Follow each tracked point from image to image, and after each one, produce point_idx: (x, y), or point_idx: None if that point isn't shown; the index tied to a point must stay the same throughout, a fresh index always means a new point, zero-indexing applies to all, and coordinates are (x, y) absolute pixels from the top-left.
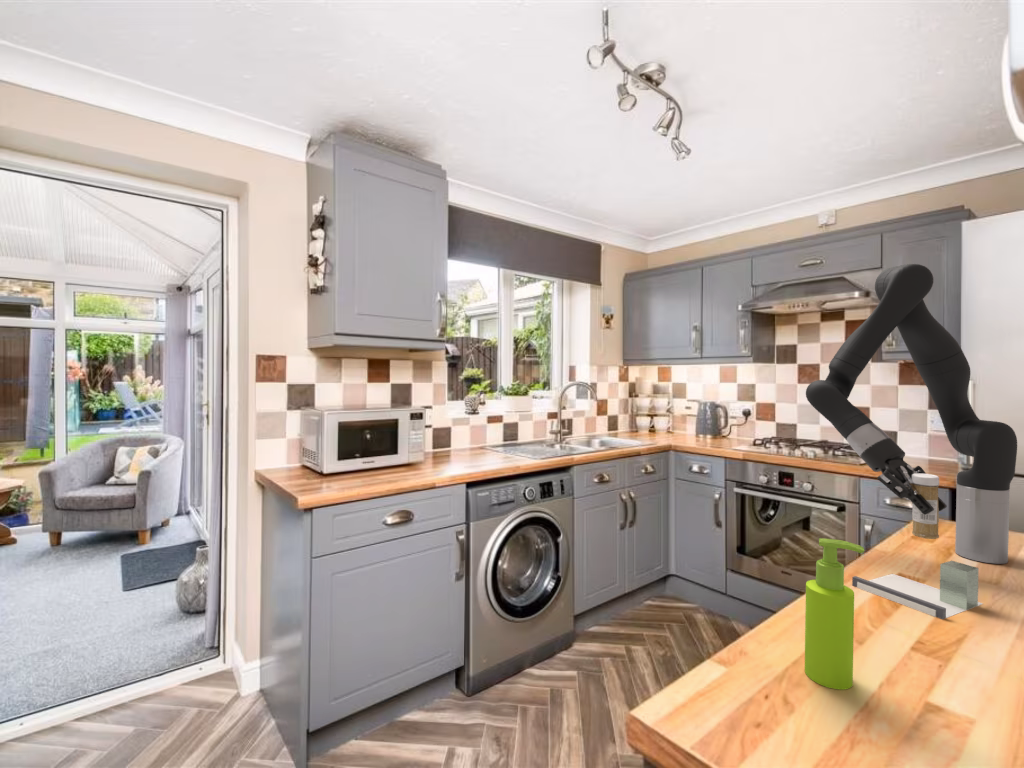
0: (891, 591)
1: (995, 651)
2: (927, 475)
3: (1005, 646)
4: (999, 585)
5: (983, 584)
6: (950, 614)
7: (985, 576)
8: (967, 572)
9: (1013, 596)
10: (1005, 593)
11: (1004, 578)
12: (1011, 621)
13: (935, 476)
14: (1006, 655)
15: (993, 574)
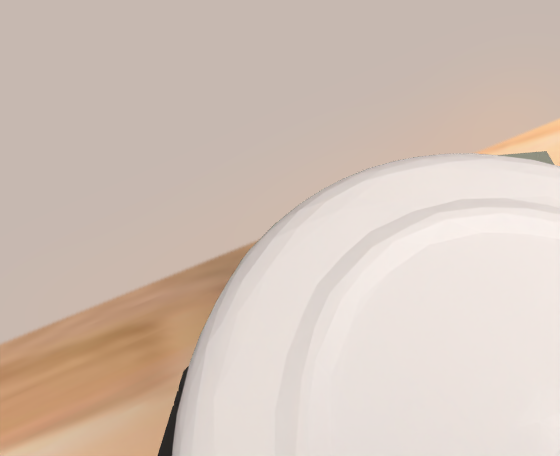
0: None
1: (555, 145)
2: (543, 360)
3: (516, 148)
4: (151, 316)
5: (187, 337)
6: None
7: (93, 376)
8: (543, 153)
9: (214, 261)
10: (209, 278)
11: (61, 343)
12: None
13: (439, 187)
14: (547, 134)
15: (44, 377)
